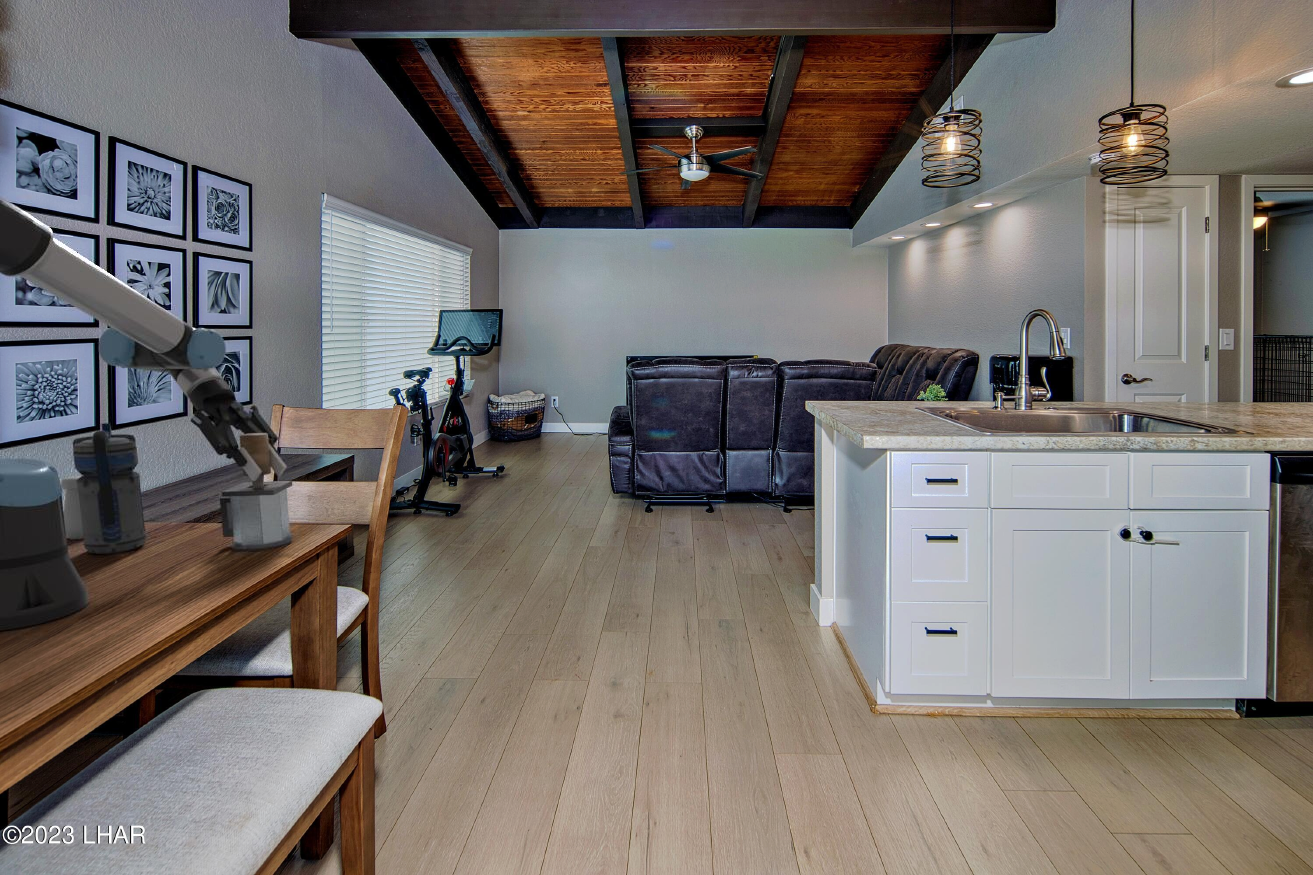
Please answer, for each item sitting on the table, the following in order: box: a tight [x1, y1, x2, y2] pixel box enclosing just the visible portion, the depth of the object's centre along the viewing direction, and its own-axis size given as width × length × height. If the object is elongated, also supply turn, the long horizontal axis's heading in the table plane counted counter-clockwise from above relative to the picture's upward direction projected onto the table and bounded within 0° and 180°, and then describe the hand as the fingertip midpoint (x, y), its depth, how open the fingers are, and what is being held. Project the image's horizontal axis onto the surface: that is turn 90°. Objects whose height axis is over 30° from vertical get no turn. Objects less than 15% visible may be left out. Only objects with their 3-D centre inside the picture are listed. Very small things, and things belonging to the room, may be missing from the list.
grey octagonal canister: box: [219, 480, 294, 552], centre depth 149 cm, size 12×11×12 cm
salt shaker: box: [60, 475, 84, 540], centre depth 156 cm, size 6×6×13 cm
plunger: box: [239, 433, 272, 488], centre depth 148 cm, size 5×5×16 cm
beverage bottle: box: [72, 422, 147, 555], centre depth 145 cm, size 10×13×25 cm
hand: (269, 473), depth 146 cm, fingers closed on plunger, 5 cm apart
